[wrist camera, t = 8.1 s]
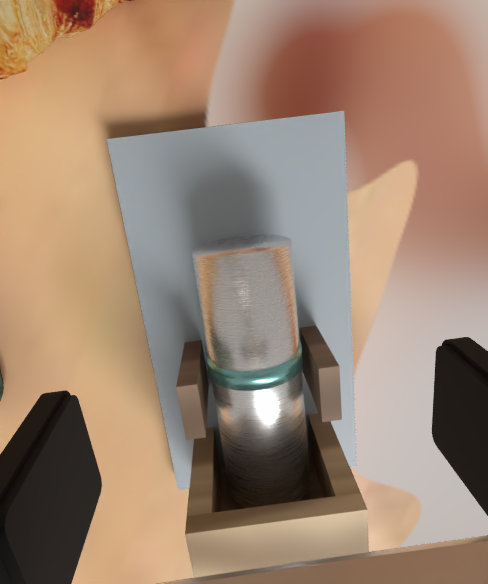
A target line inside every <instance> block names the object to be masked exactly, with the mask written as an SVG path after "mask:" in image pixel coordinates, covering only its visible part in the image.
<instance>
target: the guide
mask: <svg viewBox="0 0 488 584" xmlns="http://www.w3.org/2000/svg"><path fill="white" fill-rule="evenodd" d="M300 340H301V345H302V357H303V374H304V376H305V379H306V382H307V384H308V387H309V389H310V392H311V395H312V397H313V400H314V402H315V405H316V408H317V410H318V413H319V415H320V418H321V421H322V422H328V421H335V420H342V409H341V388H340V367H339V364H338V363H337V361H336V359H335V357H334V356H333V354H332V352H331V350H330V349H329V347H328V345H327V343H326V342H325V340H324V338H323V336H322V335H321V333H320V331H319V329H318V328H317V326H310V327H302V328H300ZM176 389H177V395H178V400H179V405H180V411H181V416H182V421H183V427H184V432H185V437H186V440H191V439H198V438H206V430H207V410H208V391H209V383H208V377H207V371H206V365H205V358H204V352H203V346H202V340H200V341H192V342H185V343H184V349H183V354H182V359H181V364H180V369H179V374H178V380H177V385H176Z"/></svg>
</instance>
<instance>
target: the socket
mask: <svg viewBox="0 0 488 584" xmlns="http://www.w3.org/2000/svg"><path fill="white" fill-rule="evenodd" d="M308 421H309V434H310V447H311V456H308V457H309V469H310V486H309V489H308V491H307V493H306V494H305V496H304V497H303V498H302V499H301V500H300V501H296V502H289V503H281V504H274V505H266V506H259V507H252V508H245V507H243V506H241V505H240V504H238V503H237V502H236V501H235V500H234V498H233V497H232V496H231V494H230V491H229V487H228V481H227V474H226V468H220V462H219V456H218V450H217V443H216V437H215V431H214V427H209V428H207V430H206V438H198V439H194V445H193V455H192V466H191V477H190V488H189V498H188V509H187V520H186V530H185V536H186V541H187V546H188V550H189V555H190V560H191V565H192V570H193V575H194V578H196V577H203V576H209V575H216V574H222V573H229V572H236V571H243V570H249V569H256V568H263V567H270V566H277V565H283V564H290V563H297V562H304V561H311V560H318V559H325V558H331V557H338V556H345V555H352V554H359V553H366V552H369V546H368V510H367V507H366V505H365V502H364V500H363V498H362V495H361V493H360V490H359V488H358V486H357V483H356V481H355V479H354V476H353V474H352V471H351V469H350V467H349V464H348V462H347V459H346V457H345V455H344V452H343V450H342V447H341V445H340V443H339V440H338V438H337V436H336V433H335V431H334V428H333V426H332V424H331V421H328V422H322V421H321V418H320V415H319V413H316V414H308Z"/></svg>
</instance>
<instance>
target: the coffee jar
mask: <svg viewBox="0 0 488 584" xmlns="http://www.w3.org/2000/svg"><path fill="white" fill-rule="evenodd" d="M3 389H4V387H3V378H2V375H1V371H0V401H1V398H2V395H3Z"/></svg>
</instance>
